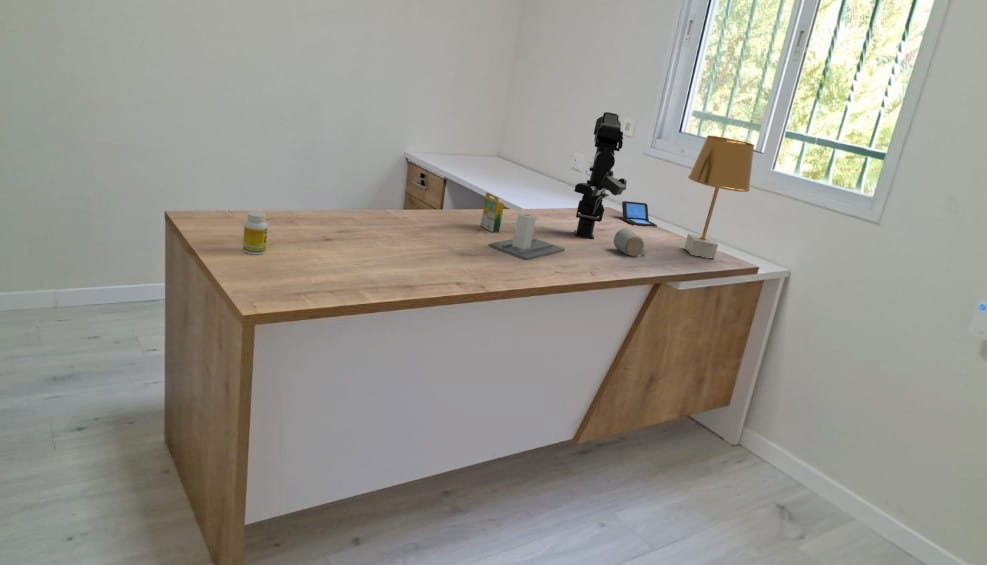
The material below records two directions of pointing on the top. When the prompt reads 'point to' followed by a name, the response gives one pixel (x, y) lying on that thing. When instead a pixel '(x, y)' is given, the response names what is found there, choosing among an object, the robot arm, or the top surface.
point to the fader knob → (524, 231)
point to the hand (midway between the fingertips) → (591, 214)
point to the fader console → (535, 250)
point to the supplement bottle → (255, 234)
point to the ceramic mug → (629, 242)
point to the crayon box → (492, 213)
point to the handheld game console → (636, 213)
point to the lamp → (719, 180)
